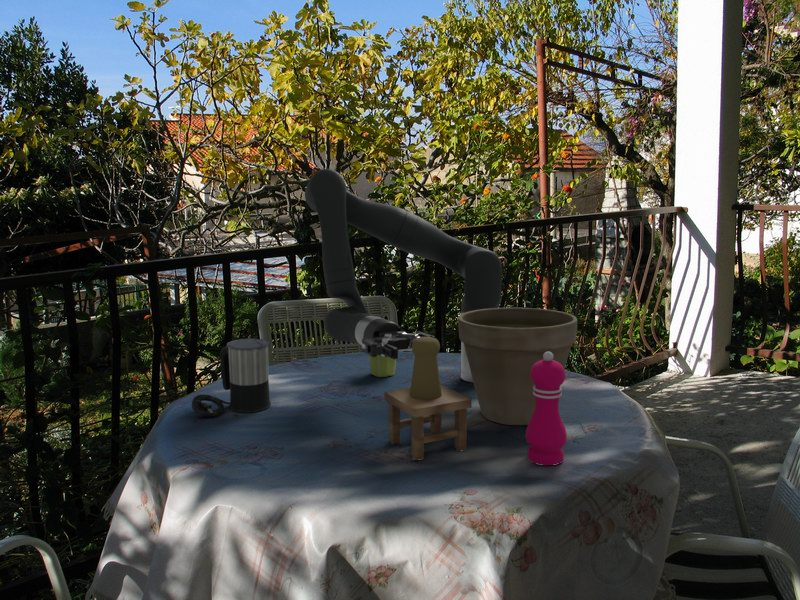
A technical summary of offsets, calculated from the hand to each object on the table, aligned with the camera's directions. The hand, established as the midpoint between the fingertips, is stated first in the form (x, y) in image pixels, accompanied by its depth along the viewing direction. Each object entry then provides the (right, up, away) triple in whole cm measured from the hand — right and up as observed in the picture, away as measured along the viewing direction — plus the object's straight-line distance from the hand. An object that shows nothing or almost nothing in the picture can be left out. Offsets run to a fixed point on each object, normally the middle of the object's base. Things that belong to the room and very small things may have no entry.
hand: (415, 351), depth 134 cm
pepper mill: (+23, -19, -9) cm, 31 cm away
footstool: (+2, -18, -2) cm, 18 cm away
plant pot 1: (-7, -10, +48) cm, 50 cm away
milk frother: (-40, -15, +21) cm, 48 cm away
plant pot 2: (+22, -15, +16) cm, 31 cm away
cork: (+2, -8, -3) cm, 9 cm away
